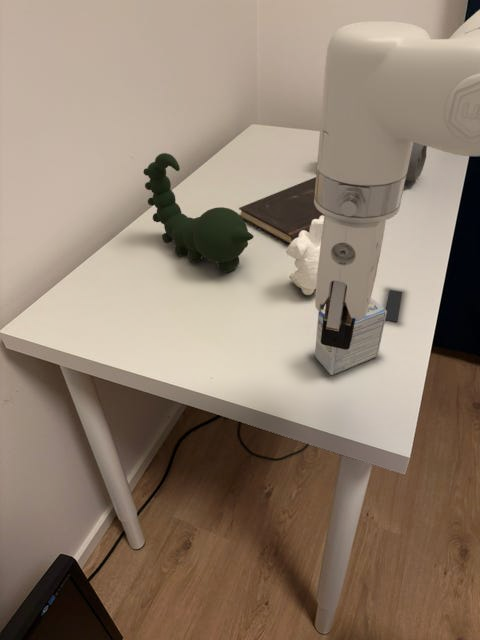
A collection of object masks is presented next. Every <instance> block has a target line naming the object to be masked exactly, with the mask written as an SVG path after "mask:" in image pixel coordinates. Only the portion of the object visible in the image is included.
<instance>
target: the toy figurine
mask: <svg viewBox="0 0 480 640" xmlns="http://www.w3.org/2000/svg"><path fill="white" fill-rule="evenodd" d="M168 167H170V168H172V169H173V170H175V171H176V172H179V171H180V164H179V162H178V161H177V159H176V157H175V156H173V155H172V154H171V153H167V152H162V153H159V154H158V155H157V156H156V157H155V158H154V161H153V162H150V163H149V164H148V166H147V167H146V168H144V169H143V175H144V176H147V177H148V179H149V181H147V182H145V184H144V188H145V190H147V191H151V193H152V197H149V198H148V199H147V204H148V205H149V206H154V207H155V208H156V212H155V213H153V215H152V220H153V222H155V223H161V225H163V228H164V231H165V232H164V233H163V234H162V235H161V240H162V241H163V243H166V244H169V243H172V242H173V243H174V245H175V246H174V249H173V251H174V252H175V254H176V256H180V257H181V256H184V255H185V253H186V252H187V258H188V259H189V260H190V262H191V263H197V262H199V261H201V260H202V259H203V258H205V259H207V260H208V261H210V262H213V263H217V267H218V269H219V270H220V271H221V272H224V273H228V272H231V271H233V270H235V269H236V268H237V267H238V266H239V265H240V257H239V256H240V255H241V254H243V252H244V250H245V249H246V248H247V247H249V246H248V245H249V241H251V240H253V239H254V237H255V236H254V234H252V232H250V231H249V230H248V226H247V224H246V221H245V220H243V219H242V217H241V214H239V213H238V212H236V211H235V210H233V209H231V208H228V207H221V206H220V207H213V208H210V209H207V210H206V211H204V212H203V213H202V214H201V215H200V216H197V217H194V218H193V217H188V216H187V215H186V214H184V213H183V212H182V209H181V207H180V205H179V204H178V203H177V202H176V194H175V193H174V191H173V190H172V189H171V187H172V186H171V185H172V183H171V179H170V178H169V177H168V176H167V168H168Z"/></svg>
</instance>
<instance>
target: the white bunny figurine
mask: <svg viewBox="0 0 480 640" xmlns="http://www.w3.org/2000/svg"><path fill="white" fill-rule="evenodd" d="M323 223H324V216H323V215H321V216H320V217H319V219H313V221H312V222H311V226H310V231H309V233H308V232H307V231H305V230H302V231H301V232H300V233H299V237H298V238H295V239H294V240H293V241H292V242H291V243H290V245H288V246H287V248H286V250H285V253H286V255H287V256H289V257H291V258H293V259H294V266H295V267H296V269H297V270H295V271H294V272H293V273H290V274H289V275H288V276H289V279H290V280H291V281H292V282H293V283H294V285H296V287H298V288H300V289H301V292H302V293H303V294H304V295H305V296H311V295H312V294H313V293H315V292H314V291H315V290H316V283H317V273H318V263H319V255H320V246H321V236H322V230H323Z"/></svg>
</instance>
